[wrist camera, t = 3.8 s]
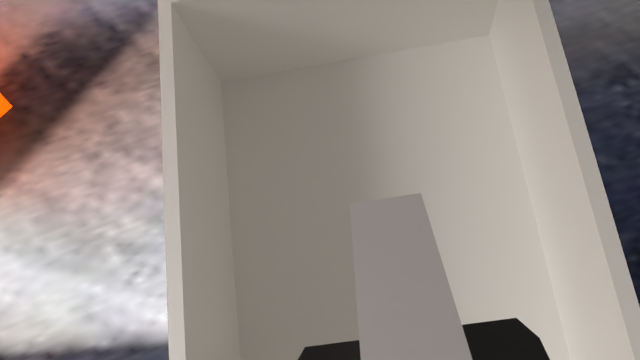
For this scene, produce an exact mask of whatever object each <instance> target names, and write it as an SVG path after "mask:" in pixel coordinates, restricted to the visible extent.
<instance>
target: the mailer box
mask: <svg viewBox="0 0 640 360" xmlns="http://www.w3.org/2000/svg"><path fill="white" fill-rule="evenodd" d="M158 26H159V57H160V89H161V120H162V151H163V182H164V213H165V244H166V275H167V307H168V338H169V360H298V358H299V357H300V355H301V353H302V351H303V350H304V348H305V347H309V346H316V345H324V344H332V343H340V342H347V341H355V340H359V328H358V313H357V299H356V285H355V270H354V256H353V241H352V227H351V213H350V204H351V203H358V202H364V201H371V200H378V199H384V198H391V197H398V196H404V195H411V194H418V193H421V195H422V198H423V201H424V205H425V208H426V211H427V214H428V218H429V221H430V224H431V227H432V230H433V234H434V237H435V240H436V243H437V247H438V250H439V253H440V256H441V259H442V263H443V266H444V269H445V272H446V276H447V279H448V282H449V285H450V289H451V292H452V295H453V298H454V301H455V305H456V308H457V311H458V314H459V318H460V321H461V324H462V325H464V324H472V323H479V322H487V321H495V320H503V319H510V318H517V319H518V320H520V321H521V322H522V323H523V324H524V325H525V326H526V327H528V328H529V329H530V330H531V331H532V332H533V333H535V334H536V335H537V336H538V337H539V338H540V340H541V342H542V344H543V346H544V348H545V350H546V352H547V354H548V357H549V359H550V360H640V307H639V303H638V300H637V296H636V293H635V290H634V286H633V283H632V280H631V276H630V273H629V269H628V266H627V263H626V259H625V256H624V253H623V249H622V246H621V242H620V239H619V236H618V232H617V229H616V226H615V222H614V219H613V215H612V212H611V209H610V205H609V202H608V199H607V195H606V192H605V188H604V185H603V182H602V178H601V175H600V172H599V168H598V165H597V161H596V158H595V155H594V151H593V148H592V145H591V141H590V138H589V134H588V131H587V128H586V124H585V121H584V118H583V114H582V111H581V107H580V104H579V101H578V97H577V94H576V91H575V87H574V84H573V80H572V77H571V74H570V70H569V67H568V63H567V60H566V57H565V53H564V50H563V47H562V43H561V40H560V36H559V33H558V30H557V26H556V23H555V20H554V16H553V13H552V9H551V6H550V3H549V0H158Z"/></svg>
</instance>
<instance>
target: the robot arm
mask: <svg viewBox="0 0 640 360" xmlns="http://www.w3.org/2000/svg"><path fill="white" fill-rule="evenodd" d="M350 213H351V227H352V241H353V256H354V270H355V285H356V299H357V313H358V328H359V340H355V341H347V342H340V343H332V344H324V345H316V346H309V347H305V348H304V350H303V351H302V353H301V355H300V357H299V358H298V360H550V359H549V357H548V354H547V352H546V350H545V348H544V346H543V344H542V342H541V340H540V338H539V337H538V336H537V335H536V334H535V333H533V332H532V331H531V330H530V329H529V328H528V327H526V326H525V325H524V324H523V323H522V322H521V321H520V320H518V319H517V318H510V319H503V320H495V321H487V322H479V323H472V324H464V325H462V324H461V321H460V318H459V314H458V311H457V308H456V305H455V301H454V298H453V295H452V292H451V289H450V285H449V282H448V279H447V276H446V272H445V269H444V266H443V263H442V259H441V256H440V253H439V250H438V247H437V243H436V240H435V237H434V234H433V230H432V227H431V224H430V221H429V218H428V214H427V211H426V208H425V205H424V201H423V198H422V195H421V193H418V194H411V195H404V196H398V197H391V198H384V199H378V200H371V201H364V202H358V203H351V204H350Z"/></svg>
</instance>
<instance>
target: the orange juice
mask: <svg viewBox="0 0 640 360" xmlns="http://www.w3.org/2000/svg"><path fill="white" fill-rule="evenodd" d="M12 107H13V106H12V105H11V104H10V103H9V102H8V101H7V100H6V99H5V98H4V97H3V96H2V94H1V93H0V118H1V117H2V116H3V115H4V114H5V113H6V112H7V111H8V110H9V109H10V108H12Z"/></svg>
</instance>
